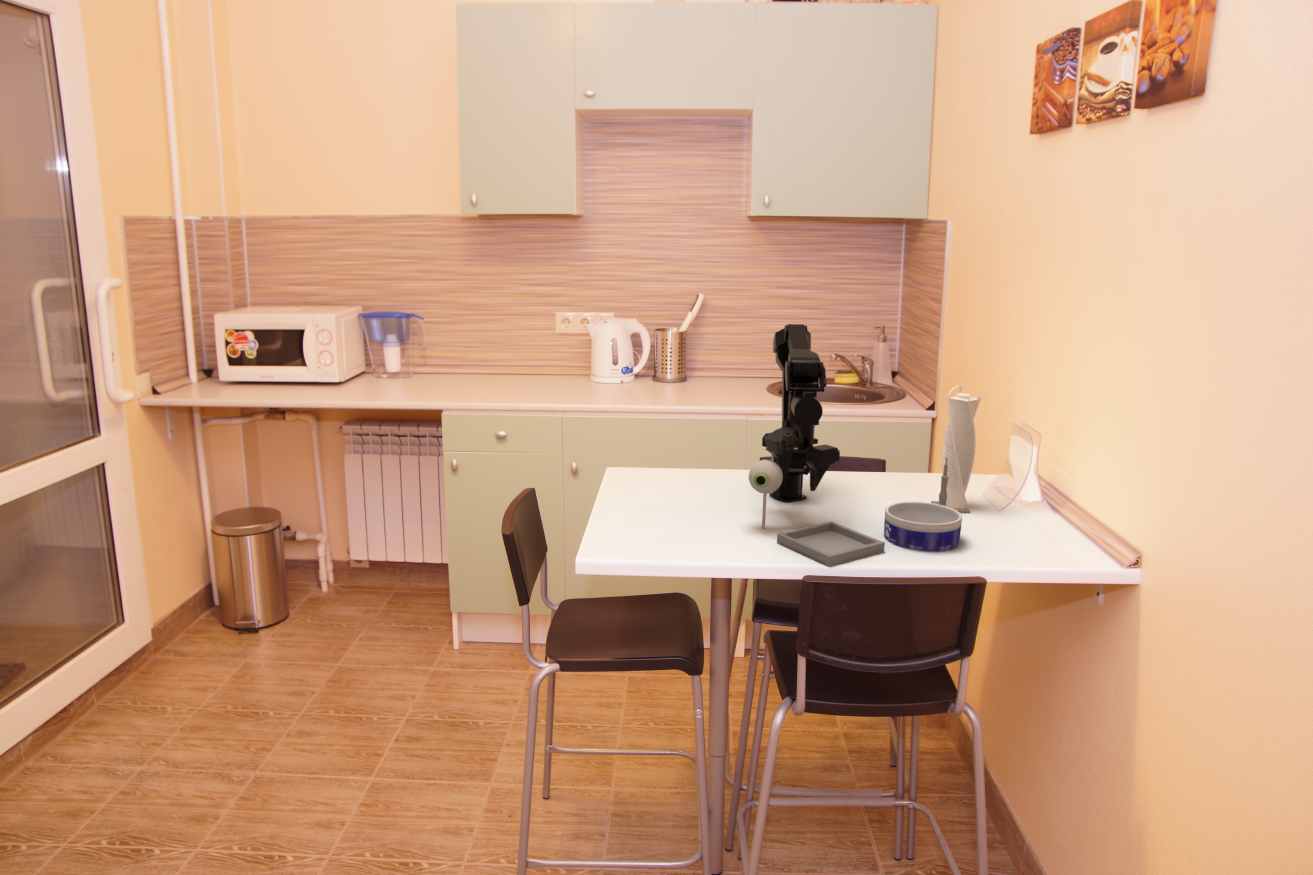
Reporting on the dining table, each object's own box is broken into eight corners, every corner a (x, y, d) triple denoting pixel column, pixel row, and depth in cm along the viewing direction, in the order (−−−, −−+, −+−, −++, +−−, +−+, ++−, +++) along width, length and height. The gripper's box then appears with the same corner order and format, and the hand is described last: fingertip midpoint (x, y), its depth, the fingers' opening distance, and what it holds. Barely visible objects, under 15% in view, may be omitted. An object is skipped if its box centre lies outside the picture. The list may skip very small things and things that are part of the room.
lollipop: (742, 530, 192) (745, 462, 189) (752, 520, 199) (754, 454, 195) (775, 535, 190) (778, 466, 186) (783, 525, 196) (787, 458, 192)
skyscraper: (929, 500, 214) (939, 383, 208) (964, 501, 214) (975, 384, 208) (939, 512, 206) (950, 390, 200) (975, 513, 206) (987, 391, 199)
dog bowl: (868, 532, 193) (870, 505, 192) (926, 524, 199) (928, 497, 197) (915, 557, 179) (917, 528, 178) (975, 547, 185) (978, 518, 184)
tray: (831, 530, 193) (831, 521, 193) (884, 552, 181) (884, 542, 181) (776, 542, 185) (777, 533, 185) (828, 566, 173) (829, 556, 173)
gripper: (744, 411, 196) (741, 480, 200) (803, 427, 181) (799, 502, 185) (783, 406, 203) (779, 473, 206) (843, 421, 187) (839, 494, 191)
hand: (797, 485), depth 197 cm, fingers open, 9 cm apart
